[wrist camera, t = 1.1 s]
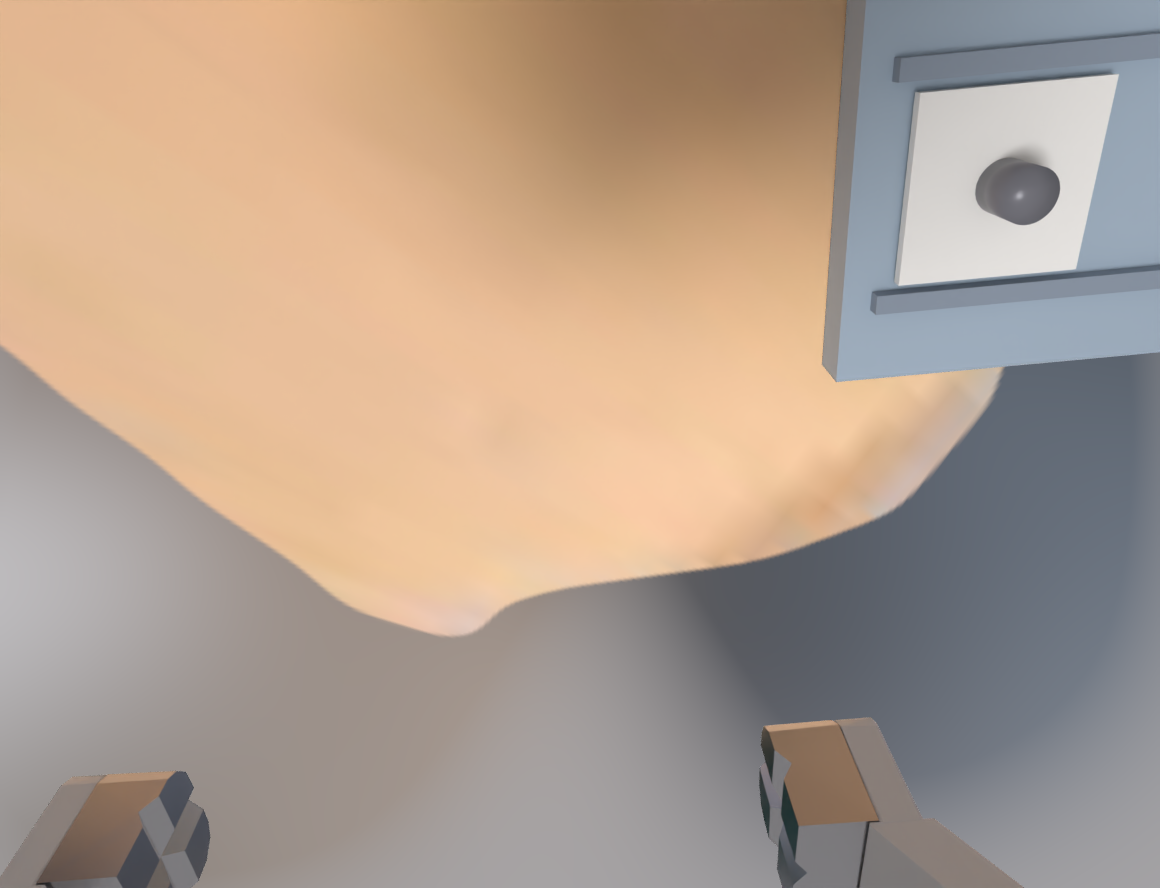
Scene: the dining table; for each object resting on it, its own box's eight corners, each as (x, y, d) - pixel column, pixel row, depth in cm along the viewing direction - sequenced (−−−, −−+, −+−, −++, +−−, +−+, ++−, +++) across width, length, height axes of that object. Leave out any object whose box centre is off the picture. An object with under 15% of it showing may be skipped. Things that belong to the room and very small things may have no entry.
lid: (915, 91, 36) (945, 97, 33) (1110, 73, 36) (1157, 77, 33) (894, 282, 40) (919, 301, 38) (1068, 265, 40) (1107, 283, 37)
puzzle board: (849, -39, 36) (876, -44, 33) (1330, -85, 36) (1399, -95, 33) (822, 364, 45) (841, 387, 42) (1201, 329, 45) (1246, 350, 42)
